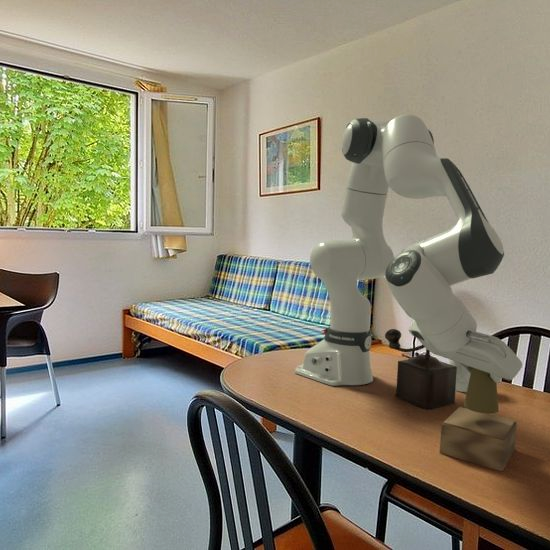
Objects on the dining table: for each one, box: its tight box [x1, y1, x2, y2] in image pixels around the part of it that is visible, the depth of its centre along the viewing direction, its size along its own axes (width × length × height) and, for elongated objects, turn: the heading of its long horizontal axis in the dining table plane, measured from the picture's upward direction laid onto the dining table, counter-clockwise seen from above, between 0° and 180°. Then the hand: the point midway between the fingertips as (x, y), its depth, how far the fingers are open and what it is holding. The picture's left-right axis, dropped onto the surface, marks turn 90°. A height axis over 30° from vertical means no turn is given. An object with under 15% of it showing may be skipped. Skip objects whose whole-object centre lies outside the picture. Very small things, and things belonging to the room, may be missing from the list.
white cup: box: [448, 359, 471, 393], centre depth 128 cm, size 8×8×10 cm
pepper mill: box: [384, 328, 457, 410], centre depth 117 cm, size 16×11×18 cm
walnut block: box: [439, 406, 518, 472], centre depth 91 cm, size 11×11×6 cm
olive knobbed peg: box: [463, 367, 499, 415], centre depth 90 cm, size 6×6×11 cm
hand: (485, 375), depth 90 cm, fingers closed on olive knobbed peg, 4 cm apart
